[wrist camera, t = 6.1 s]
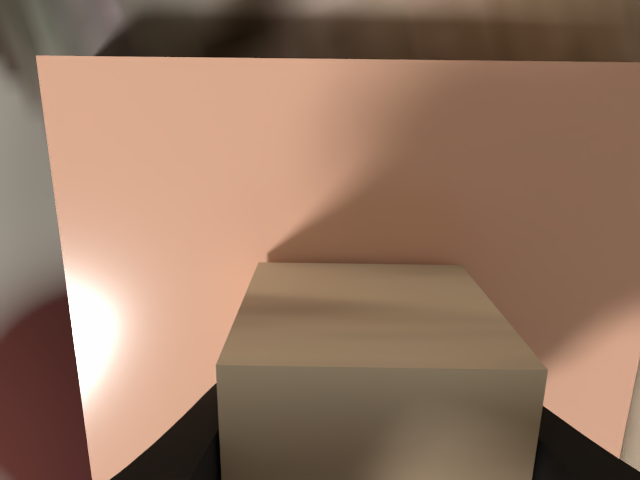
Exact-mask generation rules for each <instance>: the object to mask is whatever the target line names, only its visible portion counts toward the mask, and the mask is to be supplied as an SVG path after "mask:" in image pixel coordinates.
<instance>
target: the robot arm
mask: <svg viewBox="0 0 640 480" xmlns="http://www.w3.org/2000/svg"><path fill="white" fill-rule="evenodd" d="M110 480H221V461H220V440H219V420H218V400H217V383H216V384H215V385H213V386H212V387H211V388H210V389H209V390H208V391H207V392H206V393H205V394H204V395H203V396H202V397H201V398H200V399H199V400H198V401H197V402H196V403H195V404H194V405H193V406H192V407H191V408H190V409H189V410H188V411H187V412H186V413H185V414H184V415H183V416H182V417H181V418H180V419H179V420H178V421H177V422H176V423H175V424H174V425H173V426H172V427H171V428H170V429H169V430H168V431H166V432H165V433H164V434H163V435H162V436H161V437H160V438H159V439H158V440H157V441H156V442H155V443H154V444H152V445H151V446H150V447H149V448H148V449H147V450H145V451H144V452H143V453H142V454H141V455H140V456H138V457H137V458H136V459H135V460H134V461H133V462H131V463H130V464H129V465H128V466H127V467H125V468H124V469H123V470H122V471H120V472H119V473H118V474H116V475H115V476H114V477H112V478H111V479H110ZM532 480H640V472H639V471H637V470H636V469H634V468H633V467H631V466H630V465H628V464H626V463H625V462H623V461H622V460H620V459H619V458H617V457H616V456H614V455H613V454H611V453H610V452H608V451H607V450H605V449H604V448H602V447H601V446H599V445H598V444H596V443H595V442H593V441H592V440H590V439H589V438H588V437H586V436H585V435H583V434H582V433H580V432H579V431H578V430H576V429H575V428H573V427H572V426H571V425H569V424H568V423H566V422H565V421H564V420H562V419H561V418H559V417H558V416H557V415H555V414H554V413H553V412H551V411H550V410H548V409H547V408H546V407H544V406H543V408H542V415H541V421H540V428H539V435H538V442H537V448H536V455H535V462H534V469H533V475H532Z"/></svg>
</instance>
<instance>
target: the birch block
mask: <svg viewBox="0 0 640 480" xmlns="http://www.w3.org/2000/svg"><path fill="white" fill-rule="evenodd" d="M547 374H548V369H547V368H546V367H545V366H544V365H543V363H542V362H541V361H540V360H539V359H538V357H537V356H536V355H535V354H534V353H533V351H532V350H531V349H530V348H529V346H528V345H527V344H526V343H525V342H524V340H523V339H522V338H521V337H520V336H519V334H518V333H517V332H516V331H515V329H514V328H513V327H512V326H511V325H510V323H509V322H508V321H507V320H506V319H505V317H504V316H503V315H502V314H501V312H500V311H499V310H498V309H497V308H496V306H495V305H494V304H493V303H492V302H491V300H490V299H489V298H488V297H487V295H486V294H485V293H484V292H483V291H482V289H481V288H480V287H479V286H478V285H477V283H476V282H475V281H474V280H473V278H472V277H471V276H470V275H469V274H468V272H467V271H466V270H465V269H464V268H463V266H462V265H417V264H346V263H274V262H258V265H257V267H256V269H255V272H254V274H253V277H252V279H251V281H250V284H249V286H248V289H247V291H246V294H245V296H244V298H243V301H242V303H241V306H240V308H239V310H238V313H237V315H236V318H235V320H234V322H233V325H232V327H231V330H230V332H229V334H228V337H227V339H226V342H225V344H224V346H223V349H222V351H221V354H220V356H219V358H218V361H217V363H216V380H217V400H218V420H219V440H220V461H221V480H532V475H533V469H534V462H535V455H536V448H537V442H538V435H539V428H540V421H541V415H542V408H543V401H544V394H545V388H546V381H547Z"/></svg>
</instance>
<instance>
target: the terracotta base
mask: <svg viewBox="0 0 640 480" xmlns="http://www.w3.org/2000/svg"><path fill="white" fill-rule="evenodd" d="M36 60H37V68H38V75H39V83H40V90H41V98H42V105H43V113H44V120H45V128H46V135H47V143H48V150H49V158H50V165H51V173H52V179H53V188H54V195H55V203H56V210H57V217H58V225H59V233H60V240H61V248H62V256H63V263H64V270H65V278H66V286H67V293H68V300H69V308H70V316H71V323H72V330H73V338H74V346H75V353H76V360H77V368H78V376H79V383H80V391H81V398H82V406H83V413H84V420H85V428H86V436H87V443H88V451H89V458H90V466H91V473H92V480H110V479H111V478H112V477H114V476H115V475H116V474H118V473H119V472H120V471H122V470H123V469H124V468H125V467H127V466H128V465H129V464H130V463H131V462H133V461H134V460H135V459H136V458H137V457H138V456H140V455H141V454H142V453H143V452H144V451H145V450H147V449H148V448H149V447H150V446H151V445H152V444H154V443H155V442H156V441H157V440H158V439H159V438H160V437H161V436H162V435H163V434H164V433H165V432H166V431H168V430H169V429H170V428H171V427H172V426H173V425H174V424H175V423H176V422H177V421H178V420H179V419H180V418H181V417H182V416H183V415H184V414H185V413H186V412H187V411H188V410H189V409H190V408H191V407H192V406H193V405H194V404H195V403H196V402H197V401H198V400H199V399H200V398H201V397H202V396H203V395H204V394H205V393H206V392H207V391H208V390H209V389H210V388H211V387H212V386H213V385H215V384H216V383H217V380H216V363H217V361H218V358H219V356H220V354H221V351H222V349H223V346H224V344H225V342H226V339H227V337H228V334H229V332H230V330H231V327H232V325H233V322H234V320H235V318H236V315H237V313H238V310H239V308H240V306H241V303H242V301H243V298H244V296H245V294H246V291H247V289H248V286H249V284H250V281H251V279H252V277H253V274H254V272H255V269H256V267H257V265H258V262H274V263H346V264H417V265H462V266H463V268H464V269H465V270H466V271H467V272H468V274H469V275H470V276H471V277H472V278H473V280H474V281H475V282H476V283H477V285H478V286H479V287H480V288H481V289H482V291H483V292H484V293H485V294H486V295H487V297H488V298H489V299H490V300H491V302H492V303H493V304H494V305H495V306H496V308H497V309H498V310H499V311H500V312H501V314H502V315H503V316H504V317H505V319H506V320H507V321H508V322H509V323H510V325H511V326H512V327H513V328H514V329H515V331H516V332H517V333H518V334H519V336H520V337H521V338H522V339H523V340H524V342H525V343H526V344H527V345H528V346H529V348H530V349H531V350H532V351H533V353H534V354H535V355H536V356H537V357H538V359H539V360H540V361H541V362H542V363H543V365H544V366H545V367H546V368H547V369H548V374H547V381H546V388H545V394H544V401H543V406H544V407H546V408H547V409H548V410H550V411H551V412H553V413H554V414H555V415H557V416H558V417H559V418H561V419H562V420H564V421H565V422H566V423H568V424H569V425H571V426H572V427H573V428H575V429H576V430H578V431H579V432H580V433H582V434H583V435H585V436H586V437H588V438H589V439H590V440H592V441H593V442H595V443H596V444H598V445H599V446H601V447H602V448H604V449H605V450H607V451H608V452H610V453H611V454H613V455H614V456H616V457H617V458H619V457H620V452H621V447H622V442H623V437H624V432H625V428H626V423H627V418H628V413H629V408H630V403H631V398H632V393H633V388H634V383H635V378H636V373H637V368H638V363H639V359H640V62H572V61H480V60H389V59H298V58H206V57H115V56H36Z"/></svg>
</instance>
